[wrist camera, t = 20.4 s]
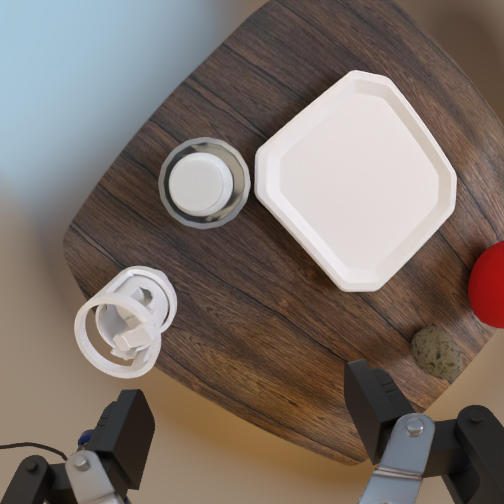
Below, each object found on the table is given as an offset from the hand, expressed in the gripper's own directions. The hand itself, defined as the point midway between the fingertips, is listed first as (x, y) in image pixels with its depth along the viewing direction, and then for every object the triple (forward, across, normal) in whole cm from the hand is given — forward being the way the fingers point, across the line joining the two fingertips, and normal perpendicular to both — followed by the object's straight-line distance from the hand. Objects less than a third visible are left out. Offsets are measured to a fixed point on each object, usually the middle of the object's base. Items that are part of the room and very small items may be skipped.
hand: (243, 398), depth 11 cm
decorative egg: (+24, -23, +16) cm, 37 cm away
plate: (+24, -15, -6) cm, 29 cm away
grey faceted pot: (+24, +2, -8) cm, 25 cm away
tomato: (+24, -35, +9) cm, 43 cm away
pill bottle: (+24, +2, -8) cm, 25 cm away
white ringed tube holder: (+24, +10, +2) cm, 26 cm away
